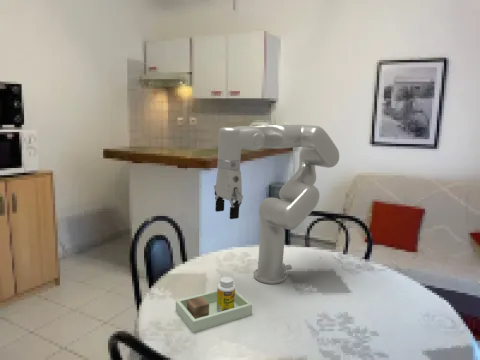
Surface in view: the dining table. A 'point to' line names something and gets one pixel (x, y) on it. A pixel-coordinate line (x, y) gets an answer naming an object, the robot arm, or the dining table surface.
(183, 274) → the dining table surface
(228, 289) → the supplement bottle
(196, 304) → the walnut block
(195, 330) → the tote
